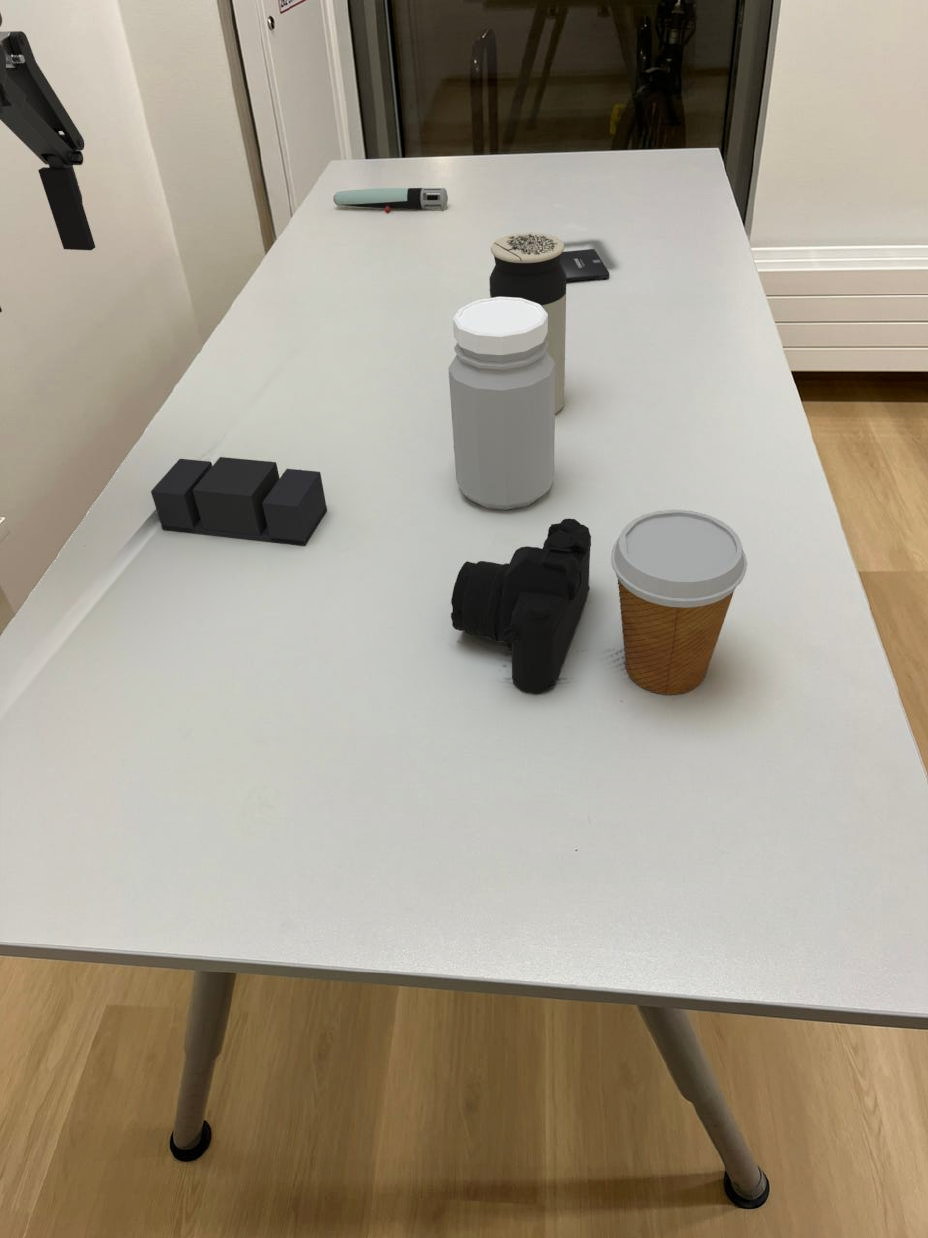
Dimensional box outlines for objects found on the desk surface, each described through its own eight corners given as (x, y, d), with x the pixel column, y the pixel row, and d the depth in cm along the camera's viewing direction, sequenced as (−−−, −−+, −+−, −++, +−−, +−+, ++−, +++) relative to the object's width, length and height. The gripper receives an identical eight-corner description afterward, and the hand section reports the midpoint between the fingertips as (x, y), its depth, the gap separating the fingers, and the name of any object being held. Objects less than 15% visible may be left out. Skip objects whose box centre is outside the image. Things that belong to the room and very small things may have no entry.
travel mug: (547, 383, 112) (547, 226, 100) (575, 413, 106) (580, 250, 94) (483, 397, 110) (477, 239, 98) (509, 428, 104) (505, 264, 93)
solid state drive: (594, 253, 142) (594, 248, 141) (609, 278, 134) (610, 273, 134) (548, 257, 142) (548, 252, 141) (561, 282, 134) (561, 278, 134)
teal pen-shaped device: (328, 204, 161) (444, 203, 158) (332, 184, 163) (447, 182, 159) (333, 218, 164) (447, 218, 161) (337, 198, 166) (450, 197, 162)
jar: (456, 516, 92) (443, 340, 80) (457, 463, 99) (446, 295, 88) (557, 512, 92) (559, 335, 80) (551, 459, 99) (552, 289, 87)
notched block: (162, 529, 93) (150, 491, 90) (190, 496, 98) (179, 458, 95) (305, 546, 90) (297, 506, 87) (327, 510, 94) (320, 471, 91)
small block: (203, 529, 92) (192, 489, 89) (229, 495, 96) (219, 456, 93) (260, 535, 90) (250, 495, 88) (284, 500, 95) (276, 461, 92)
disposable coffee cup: (638, 612, 80) (649, 492, 72) (747, 653, 76) (770, 530, 68) (582, 680, 74) (587, 558, 66) (695, 728, 70) (715, 603, 62)
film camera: (494, 567, 86) (490, 482, 80) (599, 585, 83) (604, 499, 77) (434, 681, 75) (425, 593, 69) (553, 706, 72) (554, 617, 66)
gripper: (-163, -4, 54) (-20, 347, 68) (74, -59, 72) (149, 227, 86) (-268, -1, 56) (-107, 341, 70) (-10, -56, 74) (77, 224, 88)
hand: (35, 278), depth 78 cm, fingers open, 13 cm apart
